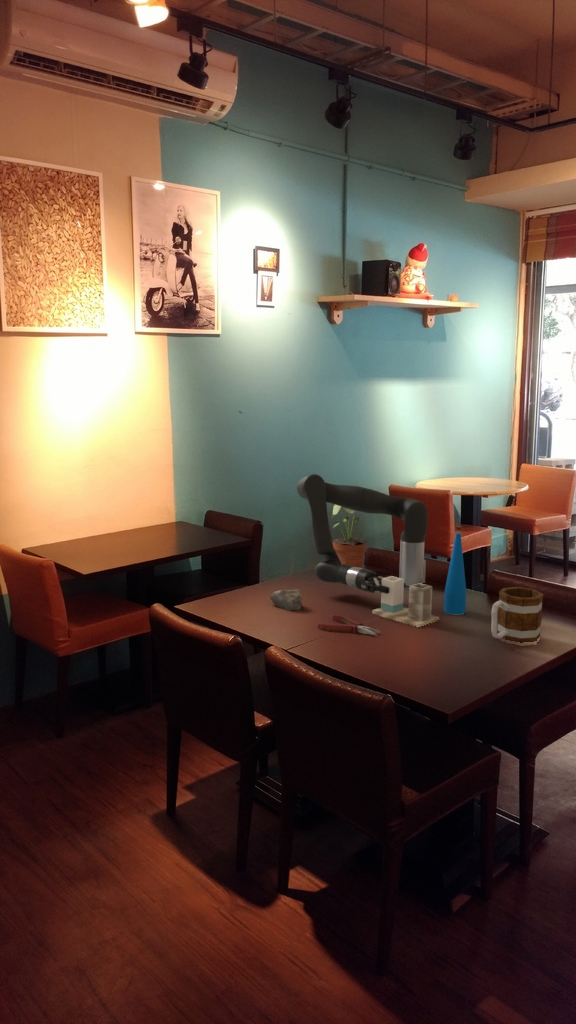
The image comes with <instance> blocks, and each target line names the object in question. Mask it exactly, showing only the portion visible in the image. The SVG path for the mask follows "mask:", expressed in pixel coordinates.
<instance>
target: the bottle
mask: <svg viewBox="0 0 576 1024" xmlns="http://www.w3.org/2000/svg"><path fill="white" fill-rule="evenodd" d="M462 528H463V526H462V525H455V531H462ZM465 575H466V574H465V565H464V553H463V543H462V533H461V532H456V533H455V536H454V541H453V546H452V552H451V556H450V562H449V566H448V571H447V577H446V582H445V587H444V598H443V612H444V611H445V612H446V613H450V614H462V613H465V614H466V610H467V609H466V608H467V607H466V605H467V586H466V577H465ZM446 613H445V614H446Z"/></svg>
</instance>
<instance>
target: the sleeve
mask: <svg viewBox="0 0 576 1024" xmlns="http://www.w3.org/2000/svg"><path fill="white" fill-rule="evenodd" d="M389 576H390V577H386V578H385V577H383V578H382V586H386V587H389V593H388V594H386V593H382V592H380V608H381V610H384V611H388V612H391V613H395V612H398V611H401V610H403V607H404V591H405V589H404V579H402V578H399V577H397V576H393V575H389Z"/></svg>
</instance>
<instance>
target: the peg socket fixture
mask: <svg viewBox="0 0 576 1024" xmlns="http://www.w3.org/2000/svg"><path fill="white" fill-rule="evenodd" d="M408 590H409V591H408V607H406V606H403V610H401V611H398V612H395V613H391V612H388V611H384V610H381V607H378V608H375V609H372V612H371V613H372V614H373V615H376V616H379V617H383V618H385V619H388V620H393V621H396V622H398V621H399V622H398V623H401V622H402V623H401V624H404V625H408V624H409V625H408V626H411V625H412V626H411V627H414V626H416V627H415V628H418V627H420V628H422V627H421V626H423V627H425V626H427V625H426V624H428V625H430V624H429V623H431V624H433V623H432V622H434V623H436V622H435V621H437V620H439V621H440V616H437V615H432V608H433V607H432V605H433V586H432V585H429V584H426V583H425V584H421V583H418V584H414V585H411V586H408ZM437 622H438V621H437ZM424 625H425V626H424Z"/></svg>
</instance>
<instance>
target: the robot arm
mask: <svg viewBox="0 0 576 1024" xmlns="http://www.w3.org/2000/svg"><path fill="white" fill-rule="evenodd" d="M296 492H297V493H298V495H299V497H301V499H303V500H305V501H308V504H309V508H310V514H311V536H312V537H311V538H312V542H313V546H314V551H315V553H316V555H317V556H323V557H324V560H325V561H324V560H323V561H319V562H318V563H317V564H316V566H315V567H314V574H315V577H317V578H318V580H320V581H322V582H324V583H325V582H326V583H334V584H335V583H336V584H338V583H339V584H343V585H345V586H350V587H352V588H353V589H357V590H361V591H364V592H369V593H372V594H375V593H381V592H382V593H386V594H388V593H389V587H386V586H382V578H386V577H390V576H391V575H385V576H384V577H383V576H379V575H378V574H377V572H376V571H374V570H370V569H366V568H363V567H362V568H359V567H353V566H349V565H342V564H341V561H340V559H339V557H338V555H337V553H336V551H335V549H334V547H333V537H332V533H331V528H330V527H331V526H330V522H329V516H328V515H329V514H328V507H327V506H328V505H327V503H328V504H332V505H338V506H341V508H345V509H352V510H354V511H355V512H356V511H357V512H362V513H366V514H376V515H378V514H380V515H381V514H384V515H388V516H391V517H395V518H398V519H400V520H403V521H404V527H403V531H402V532H401V534H400V548H399V549H400V550H399V571H398V573H399V575H398V576H399V577H398V578H402V579H404V590H405V589H406V587H409V586H411V585H414V584H418V583H421V584H423V583H425V584H426V567H427V564H426V563H427V561H426V559H425V538H426V536H427V532H428V521H429V520H428V519H429V511H428V507H427V506H426V504H425V503H423V502H422V501H419V500H417V499H415V498H408V497H397V496H392V495H389V494H386V493H384V492H380V491H377V490H374V489H370V488H367V487H362V486H357V485H348V484H346V485H345V484H333V483H328V482H325V480H324V478H323V477H322V476H320V475H319V474H318V473H317V474H314V473H312V474H308V475H306V476H304V477H302V478H301V479H300V480H298V482H297V485H296Z"/></svg>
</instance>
